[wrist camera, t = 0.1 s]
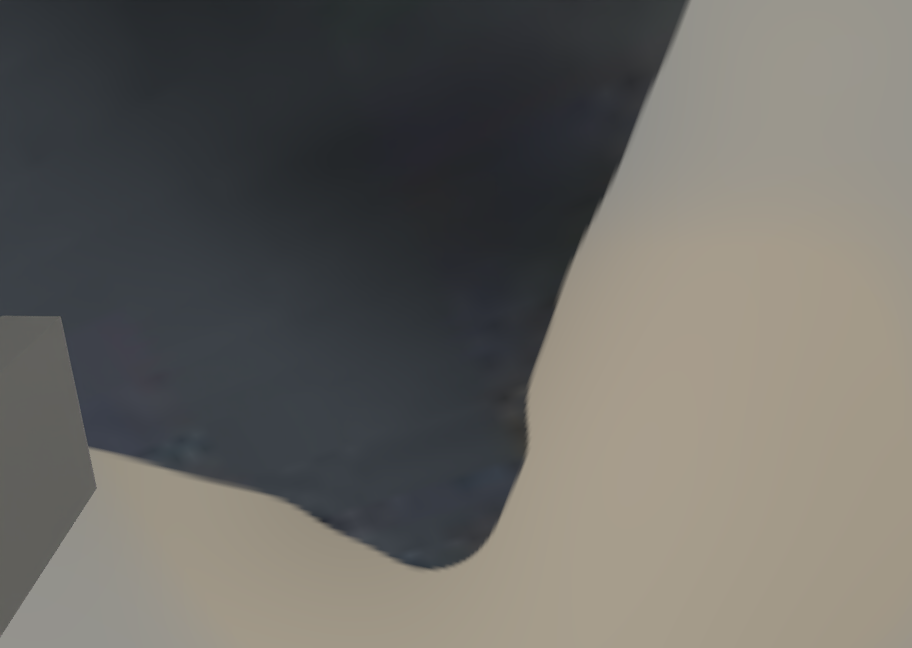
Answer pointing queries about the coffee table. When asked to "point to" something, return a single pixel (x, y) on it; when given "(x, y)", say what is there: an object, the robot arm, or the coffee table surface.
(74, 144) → the coffee table surface
